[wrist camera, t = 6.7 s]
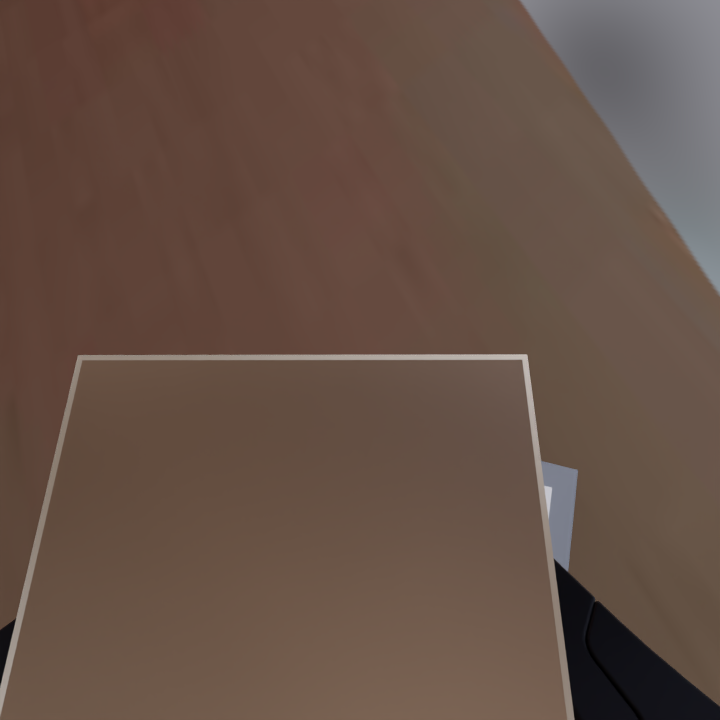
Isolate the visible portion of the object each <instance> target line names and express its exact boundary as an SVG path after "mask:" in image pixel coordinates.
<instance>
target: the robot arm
mask: <svg viewBox="0 0 720 720" xmlns="http://www.w3.org/2000/svg"><path fill="white" fill-rule="evenodd" d="M554 565H555V573H556V581H557V588H558V596H559V604H560V612H561V619H562V627H563V635H564V642H565V650H566V658H567V666H568V673H569V681H570V689H571V696H572V704H573V712H574V720H720V706H718V705H717V704H716V703H715V702H713V701H712V700H711V699H710V698H709V697H707V696H706V695H705V694H704V693H702V692H701V691H700V690H699V689H698V688H696V687H695V686H694V685H693V684H691V683H690V682H689V681H688V680H687V679H685V678H684V677H683V676H682V675H681V674H679V673H678V672H677V671H676V670H675V669H674V668H672V667H671V666H670V665H669V664H668V663H666V662H665V661H664V660H663V659H662V658H661V657H659V656H658V655H657V654H656V653H655V652H653V651H652V650H651V649H650V648H649V647H648V646H647V645H645V644H644V643H643V642H642V641H641V640H640V639H639V638H638V637H637V636H636V635H634V634H633V633H632V632H631V631H630V630H629V629H628V628H627V627H626V626H625V625H624V624H622V623H621V622H620V621H619V620H618V619H617V618H616V617H615V616H614V615H613V614H612V613H611V612H610V611H609V610H608V609H607V608H606V607H604V606H603V605H602V604H601V603H600V602H599V601H596V602H595V597H594V596H593V595H592V594H591V593H590V592H589V591H587V590H586V589H585V588H584V587H583V586H582V585H581V584H580V583H579V582H578V581H577V580H576V579H575V578H574V577H573V576H572V575H571V574H570V573H569V572H568V571H567V570H565V569H564V568H563V567H562V566H561V565H560V564H559V563H558V562H557V561H556V560H555V559H554ZM15 622H16V619H15V620H13V621H12V622H11V623H9V624H8V625H6V626H5V627H4V628H2V629H1V630H0V686H1V682H2V677H3V673H4V669H5V665H6V660H7V656H8V652H9V648H10V643H11V639H12V635H13V631H14V626H15Z"/></svg>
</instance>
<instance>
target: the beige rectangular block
mask: <svg viewBox="0 0 720 720" xmlns="http://www.w3.org/2000/svg"><path fill="white" fill-rule="evenodd" d="M0 720H574V712H573V704H572V696H571V689H570V681H569V673H568V666H567V658H566V650H565V642H564V635H563V627H562V619H561V612H560V604H559V596H558V588H557V581H556V573H555V565H554V558H553V550H552V542H551V534H550V527H549V519H548V511H547V504H546V496H545V488H544V481H543V473H542V465H541V457H540V450H539V442H538V434H537V427H536V419H535V411H534V403H533V396H532V388H531V380H530V373H529V365H528V357H527V355H78V358H77V362H76V366H75V371H74V375H73V379H72V383H71V388H70V392H69V396H68V401H67V405H66V409H65V413H64V418H63V422H62V426H61V430H60V435H59V439H58V443H57V447H56V452H55V456H54V460H53V464H52V469H51V473H50V477H49V481H48V486H47V490H46V494H45V498H44V503H43V507H42V511H41V516H40V520H39V524H38V528H37V533H36V537H35V541H34V545H33V550H32V554H31V558H30V562H29V567H28V571H27V575H26V579H25V584H24V588H23V592H22V596H21V601H20V605H19V609H18V613H17V618H16V622H15V626H14V631H13V635H12V639H11V643H10V648H9V652H8V656H7V660H6V665H5V669H4V673H3V677H2V682H1V686H0Z"/></svg>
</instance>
